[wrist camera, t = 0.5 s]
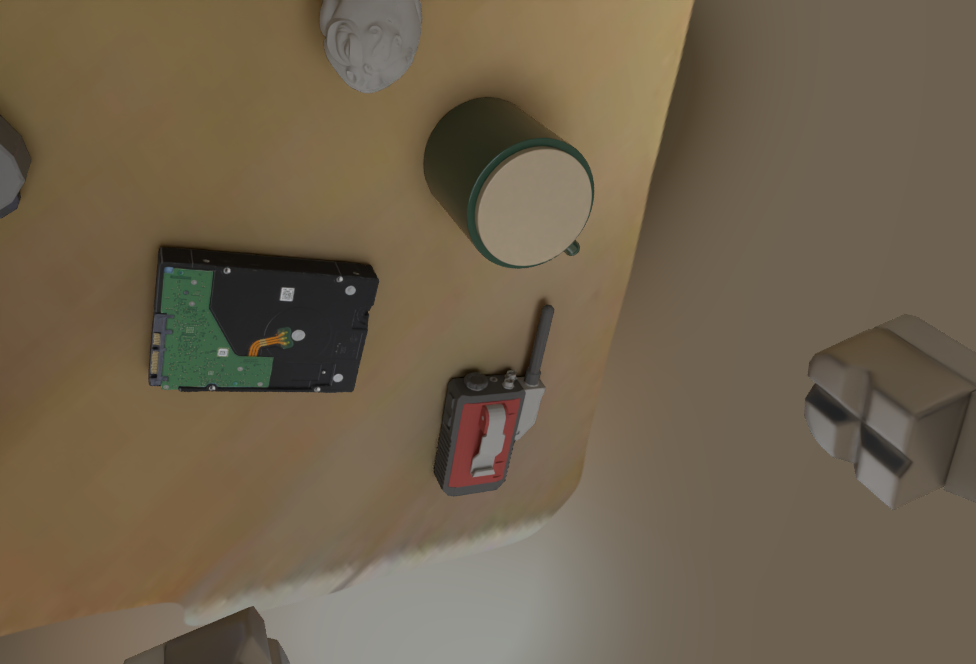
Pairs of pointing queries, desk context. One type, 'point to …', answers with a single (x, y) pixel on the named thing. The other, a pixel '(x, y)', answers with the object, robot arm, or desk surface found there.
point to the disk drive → (258, 322)
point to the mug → (509, 182)
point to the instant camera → (11, 167)
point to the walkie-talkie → (488, 422)
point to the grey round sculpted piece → (370, 39)
